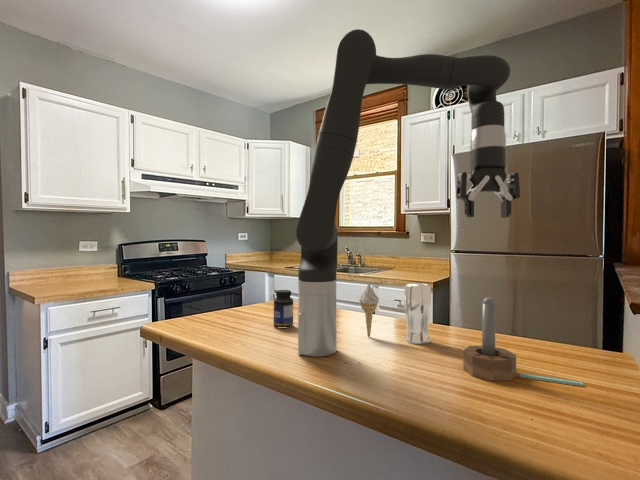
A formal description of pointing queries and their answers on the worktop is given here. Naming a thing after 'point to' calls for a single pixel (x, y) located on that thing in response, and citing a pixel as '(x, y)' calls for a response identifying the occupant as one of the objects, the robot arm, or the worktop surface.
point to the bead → (489, 364)
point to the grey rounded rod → (488, 327)
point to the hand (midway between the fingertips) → (487, 217)
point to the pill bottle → (283, 309)
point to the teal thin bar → (551, 379)
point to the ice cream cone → (368, 305)
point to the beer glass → (417, 312)
